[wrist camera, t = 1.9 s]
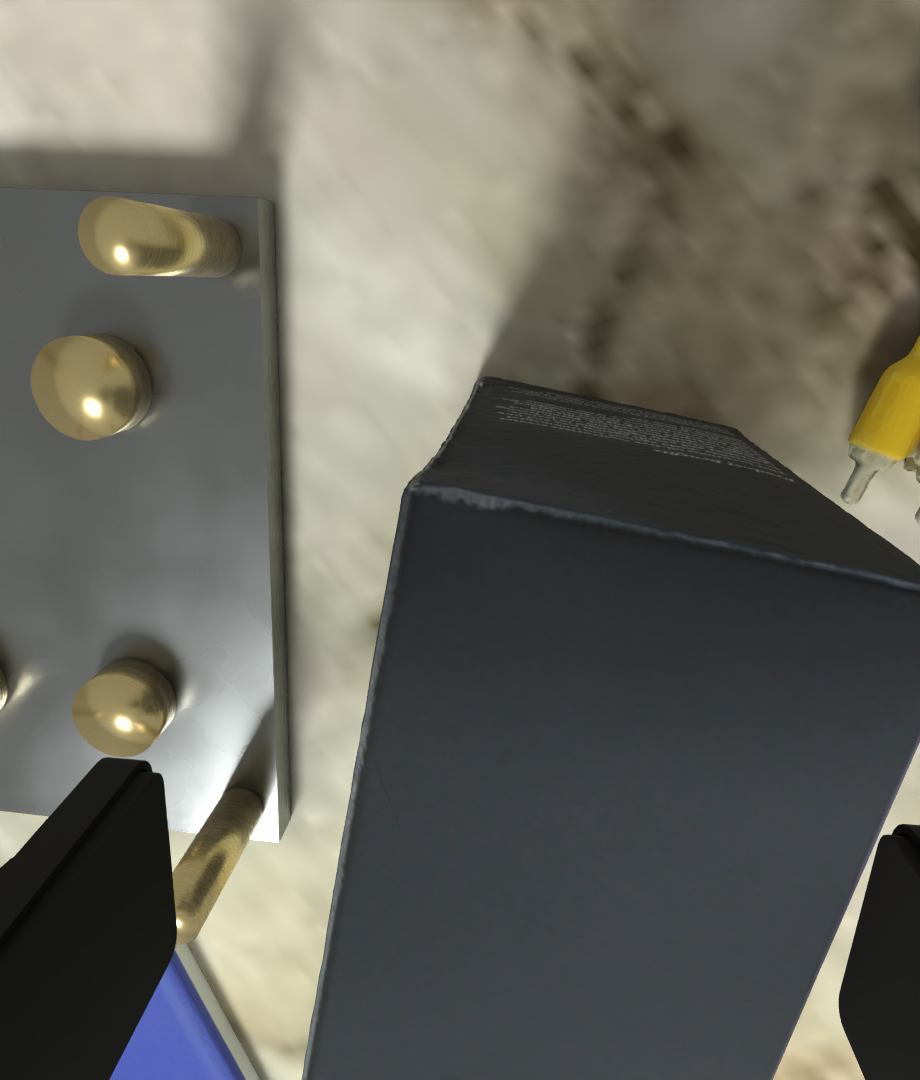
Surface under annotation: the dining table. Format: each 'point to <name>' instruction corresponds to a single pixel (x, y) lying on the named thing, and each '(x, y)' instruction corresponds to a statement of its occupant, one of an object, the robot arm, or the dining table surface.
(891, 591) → the small box
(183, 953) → the hard drive
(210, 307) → the chassis
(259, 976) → the dining table surface
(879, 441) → the composite cable
